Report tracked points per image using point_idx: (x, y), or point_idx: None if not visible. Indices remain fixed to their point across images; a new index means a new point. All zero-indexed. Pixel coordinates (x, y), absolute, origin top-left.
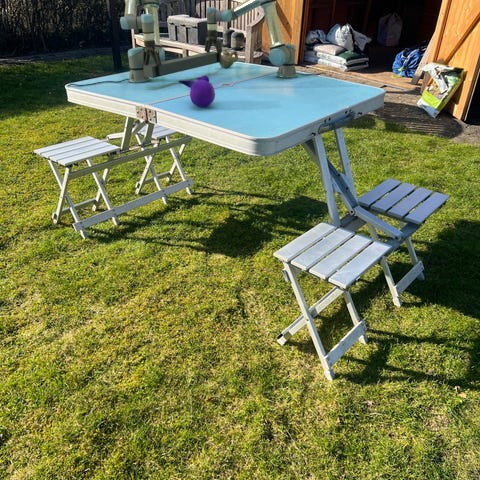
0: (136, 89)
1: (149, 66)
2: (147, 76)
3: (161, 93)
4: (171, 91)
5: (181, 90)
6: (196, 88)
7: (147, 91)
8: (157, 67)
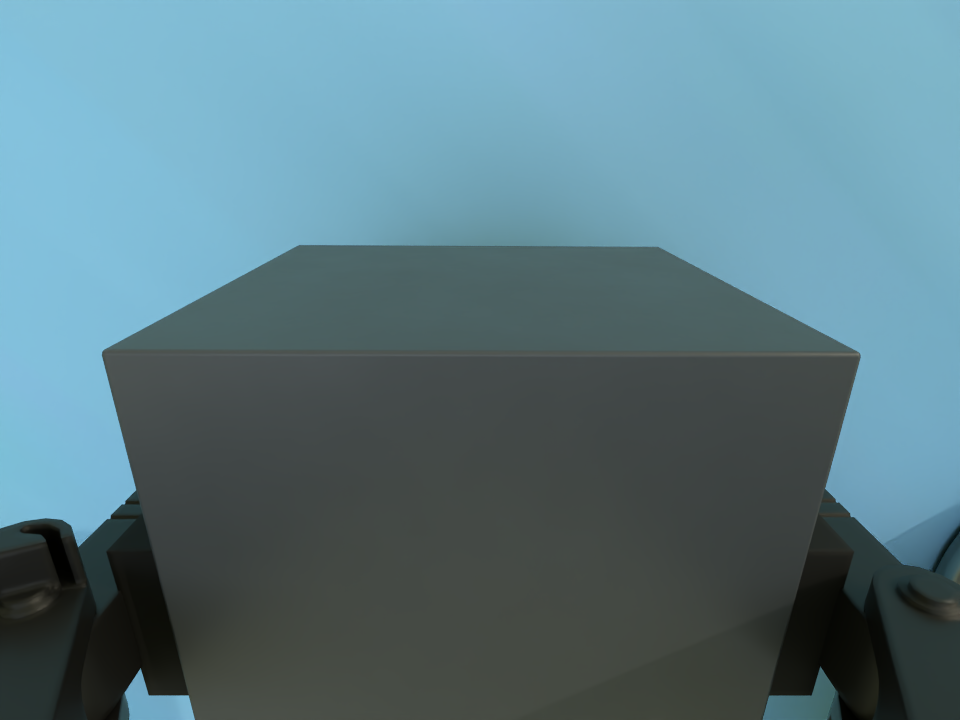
0: (749, 93)
1: (308, 354)
2: (530, 249)
3: (60, 105)
4: (79, 325)
5: (30, 454)
6: None
7: (424, 82)
8: (93, 562)
